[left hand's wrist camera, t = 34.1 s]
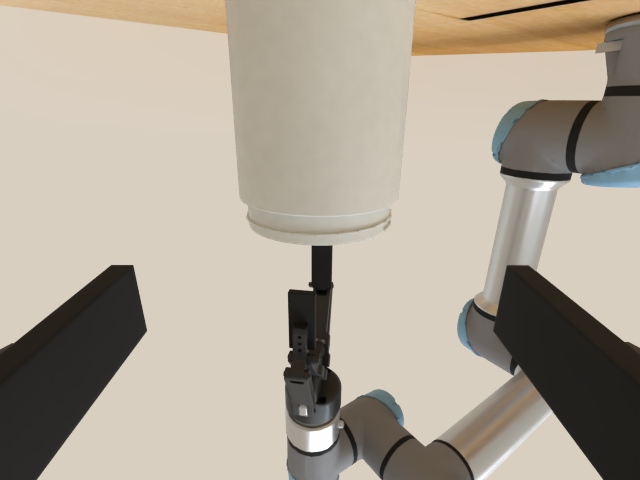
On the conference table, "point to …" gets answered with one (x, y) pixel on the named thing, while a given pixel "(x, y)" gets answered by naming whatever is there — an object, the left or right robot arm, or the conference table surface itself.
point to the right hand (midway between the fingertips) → (313, 263)
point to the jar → (319, 114)
